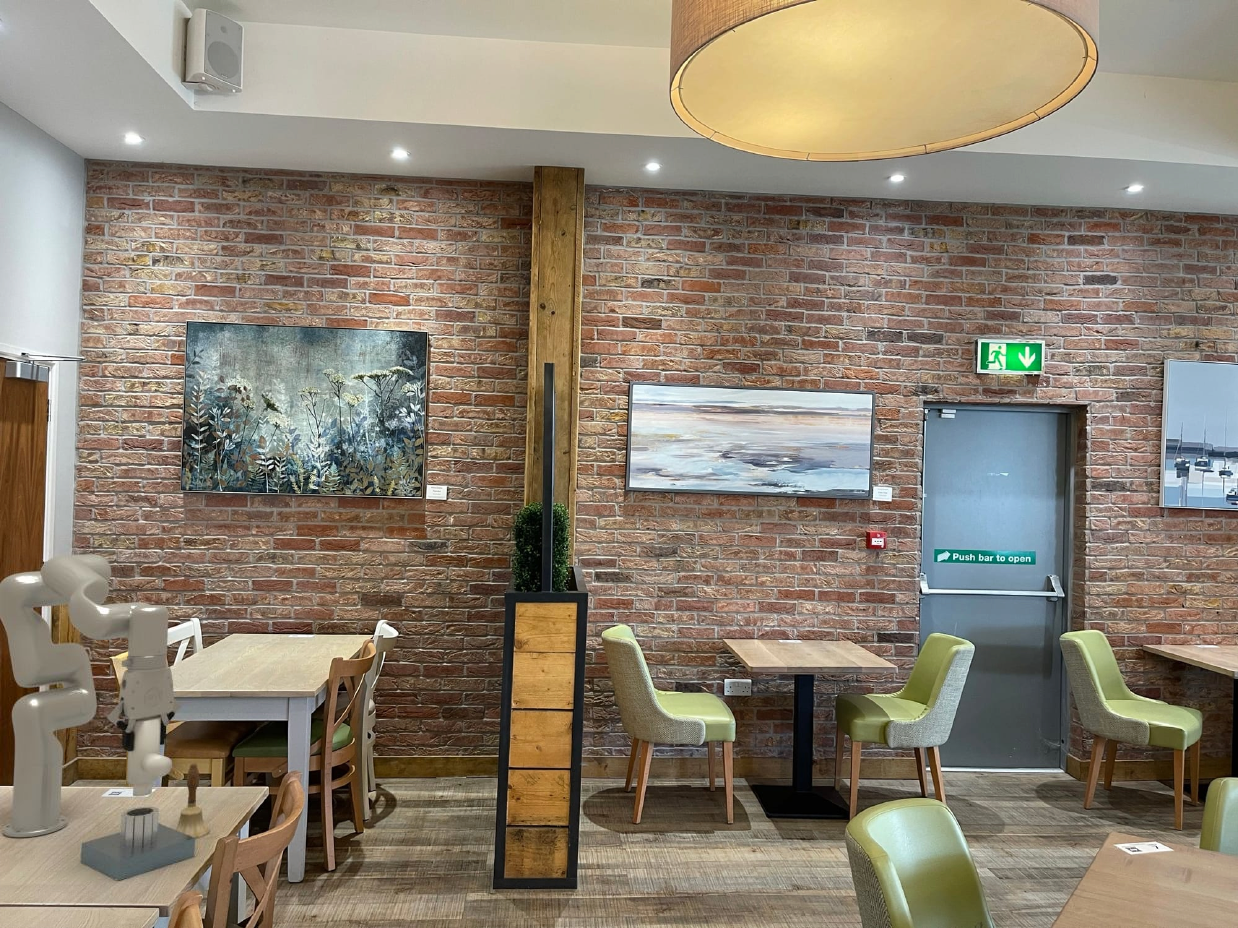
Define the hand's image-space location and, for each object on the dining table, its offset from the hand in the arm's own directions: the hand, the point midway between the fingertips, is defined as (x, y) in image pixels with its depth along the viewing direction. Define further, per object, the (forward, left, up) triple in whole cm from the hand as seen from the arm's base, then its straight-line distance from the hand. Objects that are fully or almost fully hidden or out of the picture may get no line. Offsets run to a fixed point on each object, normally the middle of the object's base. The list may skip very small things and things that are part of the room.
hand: (144, 746), depth 193 cm
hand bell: (-6, +15, -24) cm, 29 cm away
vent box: (0, 0, -24) cm, 24 cm away
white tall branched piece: (+3, 0, -10) cm, 10 cm away
